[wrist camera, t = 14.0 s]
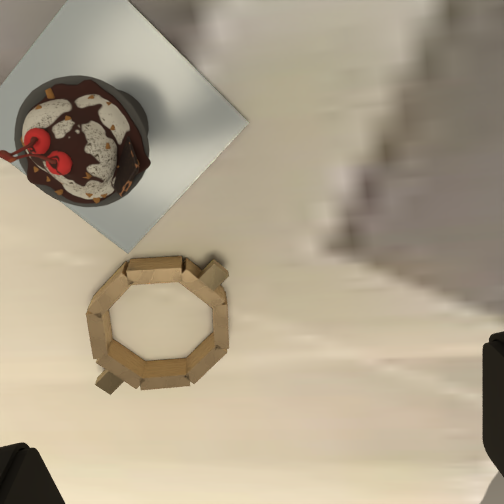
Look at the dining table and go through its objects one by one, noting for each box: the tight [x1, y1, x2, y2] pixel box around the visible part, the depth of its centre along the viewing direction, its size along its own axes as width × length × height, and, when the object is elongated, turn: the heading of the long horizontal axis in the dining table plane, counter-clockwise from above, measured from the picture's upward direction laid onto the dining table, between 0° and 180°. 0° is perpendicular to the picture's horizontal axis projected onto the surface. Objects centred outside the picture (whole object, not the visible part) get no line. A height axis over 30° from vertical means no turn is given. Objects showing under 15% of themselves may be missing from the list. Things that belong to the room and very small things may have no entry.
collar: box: [86, 256, 229, 395], centre depth 38 cm, size 15×11×2 cm
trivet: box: [0, 0, 249, 253], centre depth 33 cm, size 14×14×1 cm
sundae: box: [0, 75, 151, 207], centre depth 26 cm, size 7×7×15 cm
